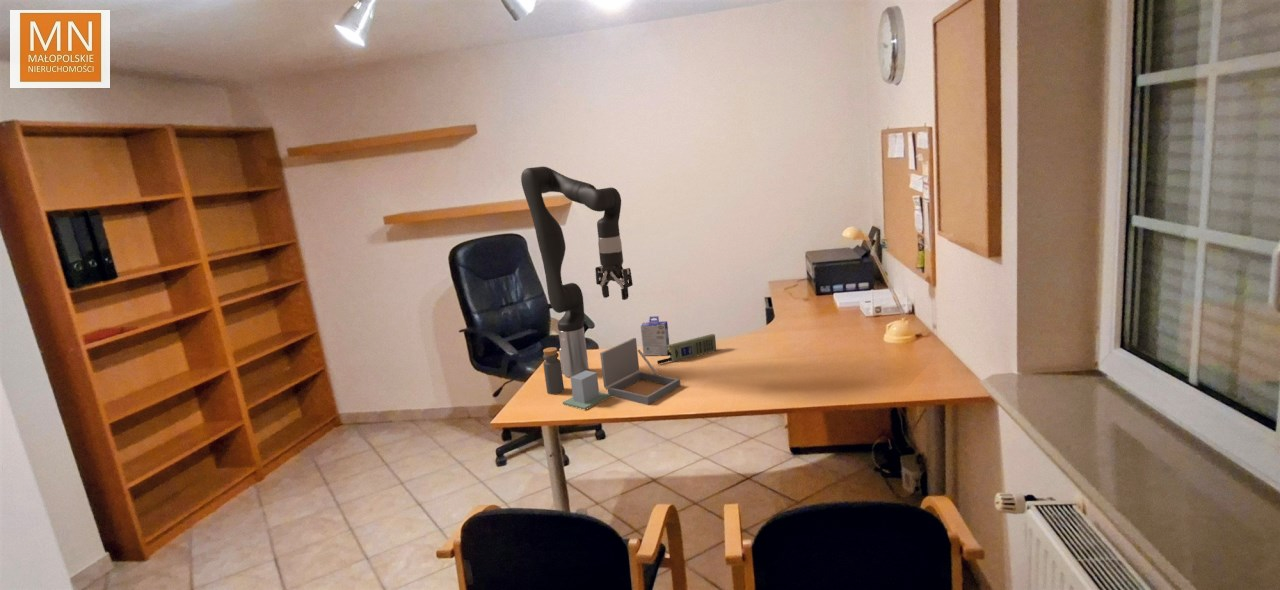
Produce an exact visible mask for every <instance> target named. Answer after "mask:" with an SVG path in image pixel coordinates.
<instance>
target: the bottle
mask: <svg viewBox="0 0 1280 590" xmlns="http://www.w3.org/2000/svg"><path fill="white" fill-rule="evenodd" d="M542 352H543V355H542V357H543V359H544V361H543V362H542V365H543V372H544V381H545V387H546V393H547V394H549V395H557V394H561V393H563V392H564V391H565V388H564V387H565V385H564V379H563V378H564V377H563V374H562V369H561V361H560V359H559V358H558V357H560V354H559V352H558V348H557V347H546V348H544V349H543V350H542Z"/></svg>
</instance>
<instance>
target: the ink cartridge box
mask: <svg viewBox="0 0 1280 590" xmlns="http://www.w3.org/2000/svg"><path fill="white" fill-rule="evenodd" d="M648 319H649V320H648V321H647V322H642V324H641V325H640V333H641V343H642V346H641V347H642V353H643V355H644V356H645V357H647V356H668V355H667V353H668V352H669V350H667V348H669V346H667V345H670V338H669V337H670V335H669V327H668V321H666V320H665V321H660V319H659V316H656V315H655V316H649V318H648ZM652 319H653V320H652ZM655 319H656V320H655Z"/></svg>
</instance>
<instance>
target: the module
mask: <svg viewBox="0 0 1280 590" xmlns="http://www.w3.org/2000/svg"><path fill="white" fill-rule="evenodd" d="M598 380H599V379H598V373H597V372H596V371H590V370H589V371H586V370H585V371H583V372H581V373H579V374H577V375H575V376H573V377H570V385H571V392H572V397H573V401H576V402H580V403H584V404H585V403H587V402H589V401H590V400H592V399H594V398H596V397H598V396H600V395H599V392H600V389H599V388H600V387H599V381H598Z"/></svg>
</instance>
